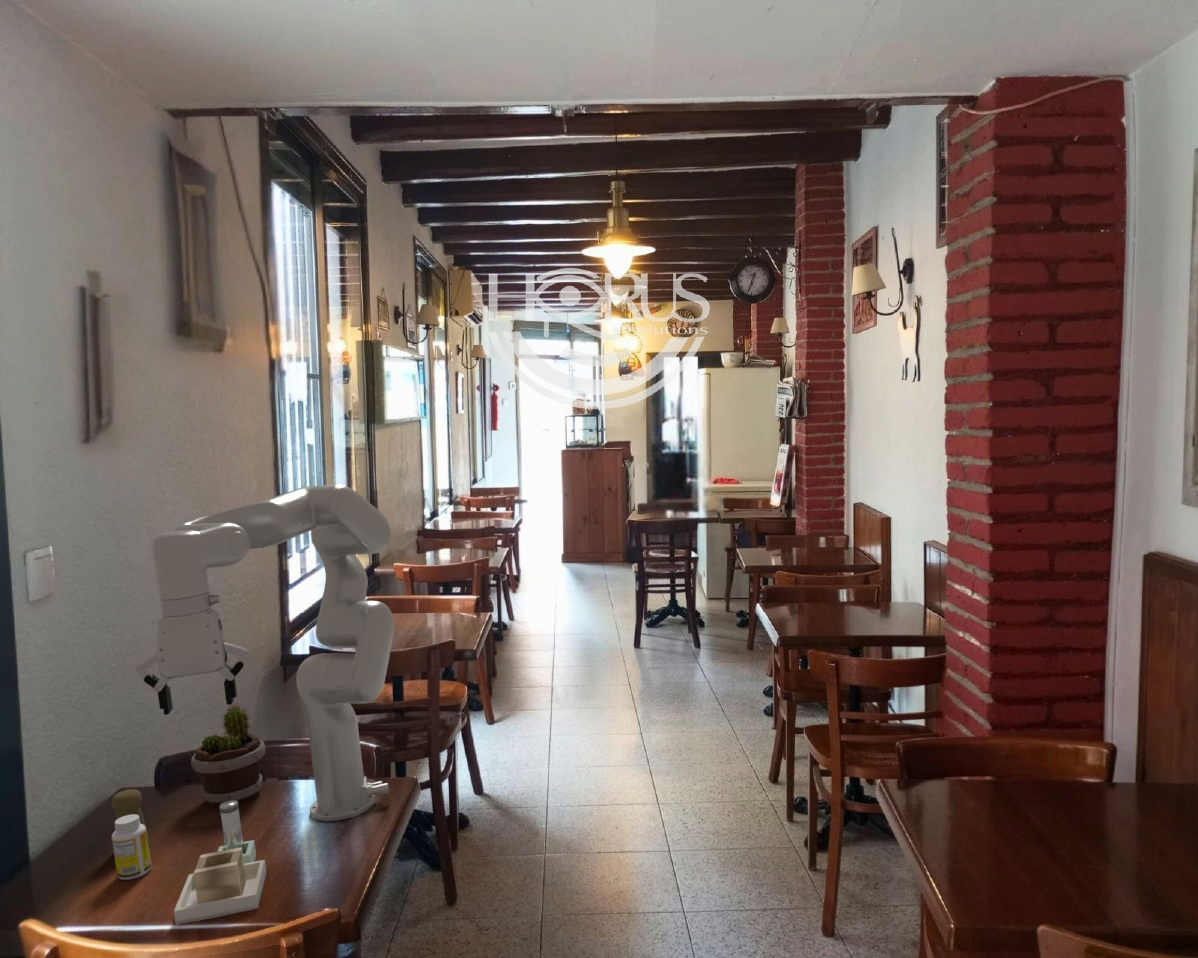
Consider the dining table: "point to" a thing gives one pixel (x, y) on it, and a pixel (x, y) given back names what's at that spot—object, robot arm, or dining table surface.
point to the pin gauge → (231, 825)
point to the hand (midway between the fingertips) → (199, 707)
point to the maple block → (220, 875)
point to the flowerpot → (230, 761)
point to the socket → (246, 851)
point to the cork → (129, 805)
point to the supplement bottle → (131, 848)
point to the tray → (248, 901)
